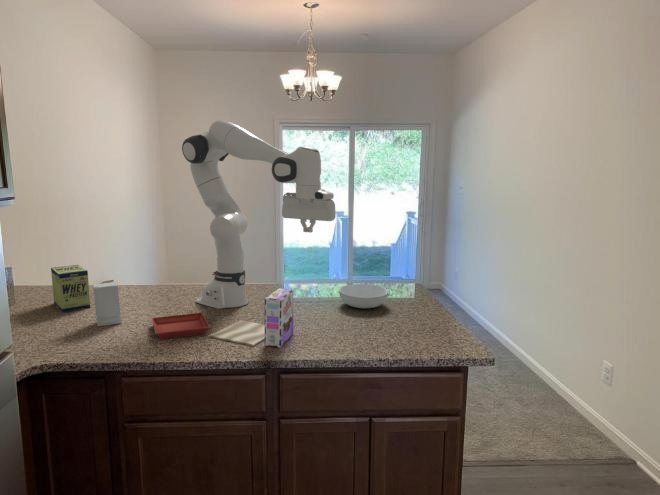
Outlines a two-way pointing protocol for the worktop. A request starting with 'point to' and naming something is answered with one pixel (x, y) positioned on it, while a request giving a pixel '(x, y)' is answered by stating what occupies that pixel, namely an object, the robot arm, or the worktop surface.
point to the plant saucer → (180, 325)
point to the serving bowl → (363, 295)
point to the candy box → (278, 317)
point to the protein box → (70, 288)
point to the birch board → (242, 333)
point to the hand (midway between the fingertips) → (307, 232)
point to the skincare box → (107, 303)
